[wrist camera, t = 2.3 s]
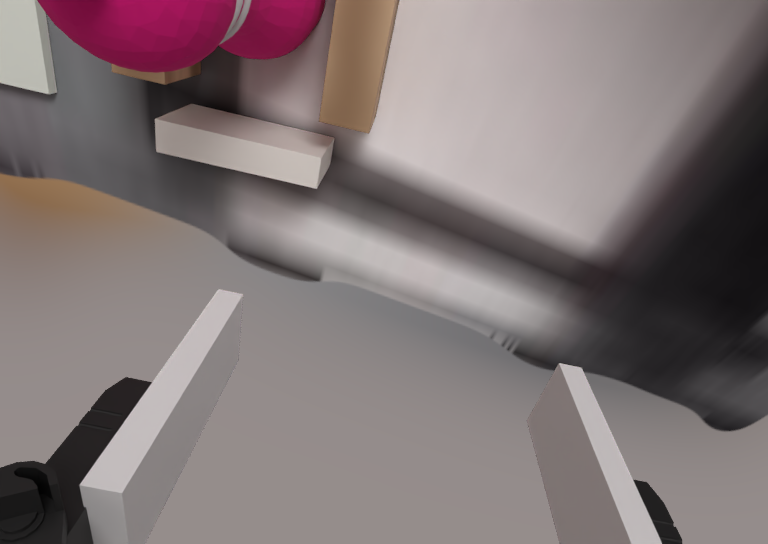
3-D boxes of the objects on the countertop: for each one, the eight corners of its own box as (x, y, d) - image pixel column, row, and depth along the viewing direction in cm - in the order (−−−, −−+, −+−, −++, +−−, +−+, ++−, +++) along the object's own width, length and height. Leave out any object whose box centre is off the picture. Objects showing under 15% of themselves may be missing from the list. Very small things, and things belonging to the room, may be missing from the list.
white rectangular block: (334, 137, 31) (321, 157, 27) (330, 165, 32) (316, 188, 28) (191, 103, 31) (155, 118, 27) (191, 132, 32) (156, 151, 28)
